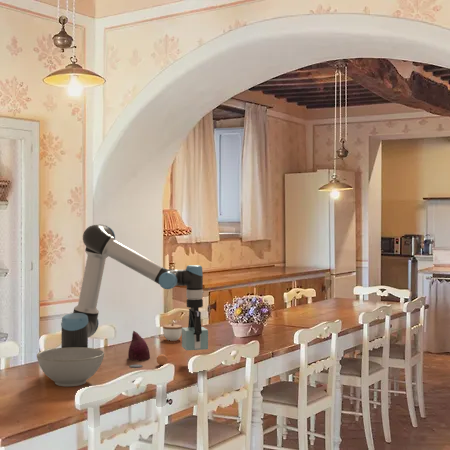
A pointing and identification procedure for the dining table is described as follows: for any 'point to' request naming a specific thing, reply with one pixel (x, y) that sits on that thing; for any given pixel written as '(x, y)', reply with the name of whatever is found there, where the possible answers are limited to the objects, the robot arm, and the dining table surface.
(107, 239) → the robot arm
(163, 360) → the ball
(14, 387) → the dining table surface
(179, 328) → the lidded jar
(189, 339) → the rounded blue-grey cube
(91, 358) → the decorative bowl
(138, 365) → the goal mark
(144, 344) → the vegetable
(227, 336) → the dining table surface
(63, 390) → the dining table surface
